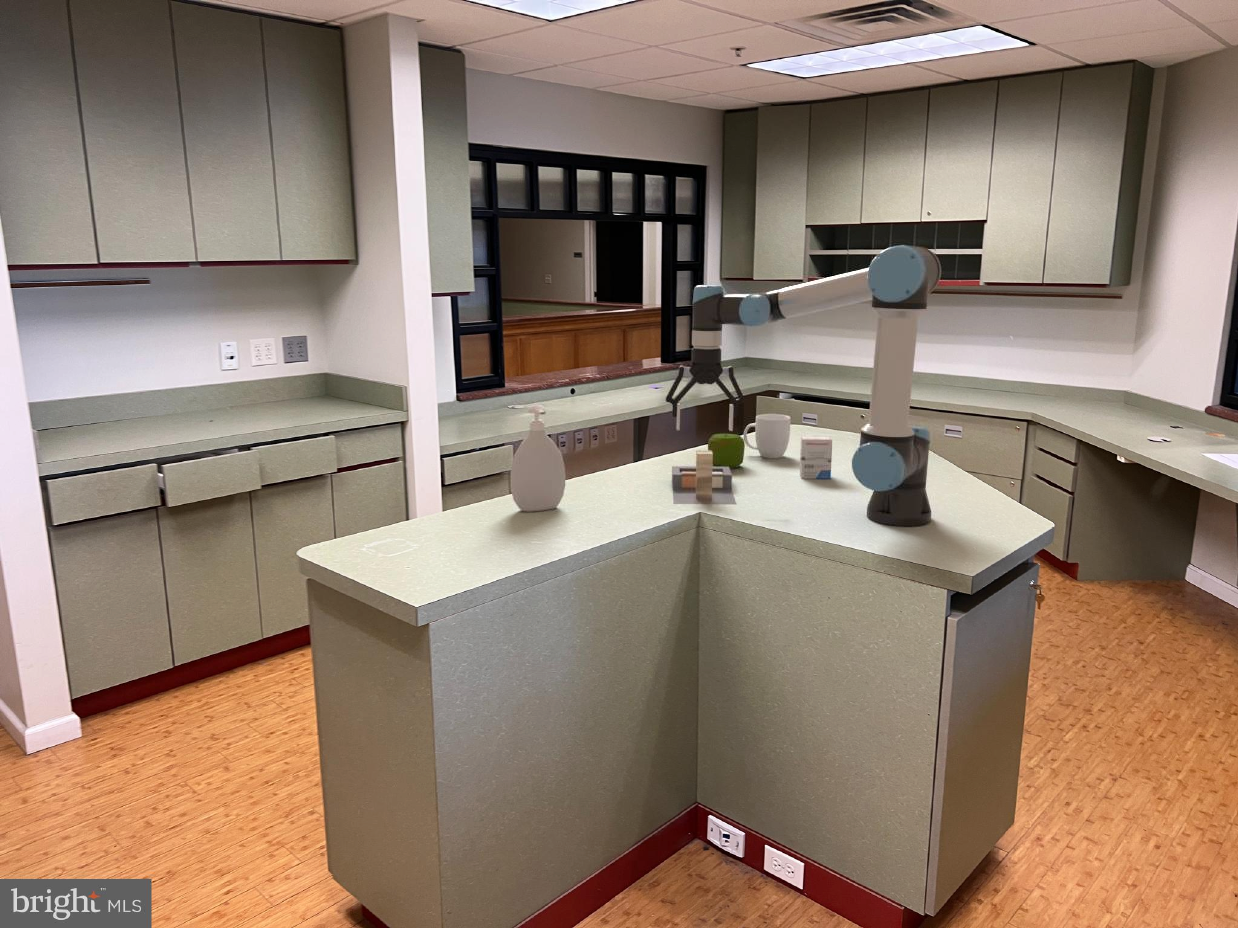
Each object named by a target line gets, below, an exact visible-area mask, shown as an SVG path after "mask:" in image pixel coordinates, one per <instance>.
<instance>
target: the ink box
mask: <svg viewBox="0 0 1238 928" xmlns="http://www.w3.org/2000/svg"><path fill="white" fill-rule="evenodd" d="M799 449H800V453H799V477H800V479H805V480H807V479H809V480H810V479H811V480H813V479H817V480H819V479H820V480H830V479H831V475H832V461H833V460H832V459H833V458H832V457H833V439H832V438H831V437H830V436H829V437H828V436H800V448H799Z"/></svg>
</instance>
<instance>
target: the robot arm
mask: <svg viewBox="0 0 1238 928" xmlns="http://www.w3.org/2000/svg"><path fill="white" fill-rule="evenodd" d="M941 276H942V266H941V263H940V260H939V258H938V256H937V255H936V254H935V253H934V252H933V251H932V250H930V249H929V248H927V247H923V246H918V245H917V246H915V245H905V244H900V245H894V246H891V247H887V248H886V249H883V250H882V251H880V252H878V254H877V255H876V256H875V257H874V258H873V259H872V261H871V262H870V265H869V266H868V267H867V268H862V269H859V270H855V271H850V272H845V273H842V274H837V275H834V276H829V277H826V278H821V279H817V280H813V281H809V282H805V283H800V284H797V285H792V286H788V287H784V288H781V289H775V290H771V291H767V292H759V293H741V294H740V293H725V291H724V287H723V286H722V285H717V284H700V285H699V284H698V285H696V286H695V287H694V289H693V293H692V294H693V298H692V329H691V330H692V331H691V345H692V346H693V347H692V348H691V364H690V366H684V365H679V368H678V372H677V373H678V374H677V375H676V378H675V379H674V381H673V383H672V385H671V387H670V389H669V391H668V393H667V395H666V396H665V401H666V403H669V404H671V406H672V411H671V414H672V417H673V418H676V426H675V427H676V428H675V429H676V431H680V430H681V429H680V428H681V427H680V425H681V404H680V401H681V400H682V399H683V398H684V396H686V395H687V393H689V391H690V390H691V389H692V388H693V387H694V385H696V384H699V385H705V384H708V385H713V384H716V385H717V386H718V387H719V388H720V390H721V391H722V392H723V393H724V394H725V396H726V397H727V399H729V400H730V402H731V403H730V404H729V415H728V416H729V417H728V430H729V431H730V432H733V431H734V430H733V429H734V418H736V419H737V417H738V415H739V412H738V411H739V405H741V404H744V403H746V399H745V397H744V394H743V393H742V390H741V388H740V386H739V383H738V382H737V380H736V377H735V374H734V368H733V366H732V365H729V366H725V367H722V349H721V347H722V344H723V343H722V341H723V325H732V326H747V327H761V326H765V325H766V323H768V324H769V323H776V322H778V321H780V320H785V319H789V318H795V317H799V316H805V315H808V314H812V313H817V312H821V311H822V312H823V311H826V310H827V311H828V310H831V309H837V308H840V307H845V306H849V305H854V304H859V303H864V302H869V301H871V307H870V308H871V309H872V311H874V313H875V314H876V316H877V321H876V334H875V345H874V353H873V354H874V356H873V367H872V377H871V378H872V379H871V390H870V403H869V414H868V422H867V423H866V424H865V425H863V426H861V429H860V437H859V447H858V448H856V450H855V452H854V454H853V456H852V460H851V469H852V472H853V475H854V478H855V479H856V480H857V481H858V482H859V483H860V484H861V486H863V487H864V488H866V489H868V490H871V491H872V494H871V496H870V498H869V501H868V503H867V505H866V517H867V518H868V519H869V520H871V521H874V522H877V523H880V524H883V525H891V526H896V527H917V526H924V525H928V524H929V523H931V521H932V508H931V504H930V501H929V497H928V494H927V493H928V492H927V478H928V476H927V475H928V464H929V456H930V455H929V453H930V444H931V437H930V435H931V433H930V430H929V429H928V428H925V427H923V426H913V425H909V418H910V417H909V416H910V410H911V409H910V407H911V398H912V387H913V386H912V385H913V377H914V366H915V358H916V357H915V356H916V345H917V333H918V327H919V326H918V324H919V318H920V317H921V316H922V315H923V314H924V313H925V312H926V311H927V306H928V299H929V294H931V293H932V292H933V291H934V290H935V288H936V287H937V286H938V284H939V283H940V279H941ZM687 373H690V375H691V376H692V377H691V378H690V379H689V380H688V382H687V383H686V384H685V386H684V387H683V388H682V389H681V390H680V391H679V392H678V394H677V395H676V396H675V397H674V398H673V396H674V394H675V393H676V391H677V389H678V387H679V385H680V383H681V381H682V380H683V377H684V376H686V375H687ZM723 373H725V375H726V376H727V377H729V380H730V383H731V385H732V387H733V389H734V390H735V392H736V395H737V397H738V398H735V396H734V395H733V394H732V393H731V391H730V390H729V389H728V387H727V386H726V385H725V384H724V382H723V381H722V380H721V379H720V378H719V377H720V376H721V375H722V374H723Z"/></svg>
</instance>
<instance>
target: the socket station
mask: <svg viewBox="0 0 1238 928" xmlns="http://www.w3.org/2000/svg"><path fill="white" fill-rule="evenodd" d="M732 485H733V473H732V472H731V469H730V468H729V467H715V466H712V499H696V465H695V466H693V465H686V466H685V465H680V466H679V465H678V466H677V465H676V466H675V465H671V486H672V487H671V488H672V499H673V504H677V505H679V504H680V505H681V504H682V505H685V504H686V505H737V501H736V499H735V496H734V493H733V490H732V487H733V486H732Z"/></svg>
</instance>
